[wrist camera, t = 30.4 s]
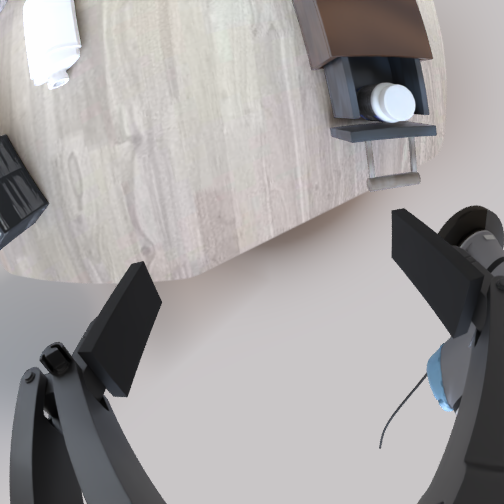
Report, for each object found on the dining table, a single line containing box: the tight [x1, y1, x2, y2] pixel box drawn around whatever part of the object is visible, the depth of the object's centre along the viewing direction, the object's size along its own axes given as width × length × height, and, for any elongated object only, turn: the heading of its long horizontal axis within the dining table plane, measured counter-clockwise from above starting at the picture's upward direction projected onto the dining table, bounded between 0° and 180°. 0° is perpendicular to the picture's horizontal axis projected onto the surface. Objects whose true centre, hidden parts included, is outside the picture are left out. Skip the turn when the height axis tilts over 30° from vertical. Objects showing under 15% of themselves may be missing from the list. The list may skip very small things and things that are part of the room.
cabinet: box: [292, 0, 433, 70], centre depth 22 cm, size 15×13×10 cm
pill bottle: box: [356, 83, 415, 123], centre depth 26 cm, size 5×5×8 cm
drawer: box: [323, 56, 437, 192], centre depth 28 cm, size 20×11×8 cm, turn 13°
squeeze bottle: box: [23, 0, 81, 89], centre depth 22 cm, size 10×20×5 cm, turn 15°
